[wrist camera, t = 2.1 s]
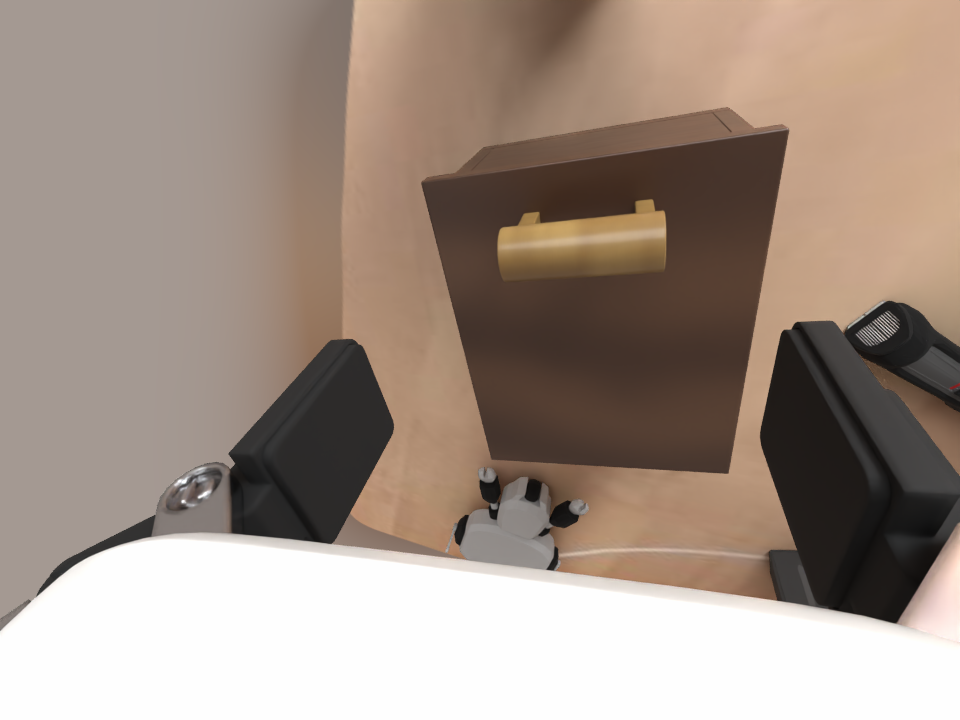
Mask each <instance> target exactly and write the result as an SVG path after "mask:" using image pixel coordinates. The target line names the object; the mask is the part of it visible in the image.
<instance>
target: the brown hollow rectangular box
mask: <svg viewBox="0 0 960 720" xmlns="http://www.w3.org/2000/svg"><path fill="white" fill-rule="evenodd" d="M748 129H755V128H753V127H752V126H751V125H750V124H749V123H747V122H746V121H745V120H744V119H742V118H741V117H740V116H739V115H738V114H736V113H735V112H734V111H733V110H731V109H730V108H728V107H726V108H720V109H714V110H708V111H702V112H696V113H690V114H684V115H678V116H672V117H665V118H659V119H653V120H647V121H641V122H635V123H629V124H623V125H617V126H611V127H605V128H599V129H592V130H586V131H580V132H574V133H568V134H562V135H556V136H550V137H544V138H538V139H532V140H526V141H519V142H513V143H507V144H501V145H495V146H489V147H484V148H482V149H481V150H480V151H479V152H478V153H477V154H476V155H474V156H473V157H472V158H471V159H470V160H469V161H468V162H467V163H466V164H465V165H464V166H463V167H462V168H460V169H459V170H458V171H457V172H456V173H459V172H466V171H473V170H479V169H486V168H493V167H500V166H506V165H513V164H520V163H526V162H533V161H540V160H547V159H553V158H560V157H567V156H573V155H580V154H587V153H593V152H600V151H607V150H614V149H620V148H627V147H634V146H640V145H647V144H654V143H661V142H667V141H674V140H681V139H687V138H694V137H701V136H708V135H714V134H721V133H728V132H734V131H741V130H748Z"/></svg>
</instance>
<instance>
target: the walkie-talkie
mask: <svg viewBox="0 0 960 720" xmlns="http://www.w3.org/2000/svg"><path fill="white" fill-rule="evenodd" d="M769 556H770V574H771V578H772V582H773V586H774V589H775V593H776V597H777V600H778V601H782V602H789V603H796V604H802V605H807V606H813V607H818V608H824V609H829V608H828V606H821V605H818V604H817V602H816V601H815V599H814V597H813V594H812V591H811V589H810V586H809V583H808V580H807V577H806V574H805V571H804V568H803V565H802V563H801V560H800V557H799V554H798V551H788V550H771V551H770V552H769Z"/></svg>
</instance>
